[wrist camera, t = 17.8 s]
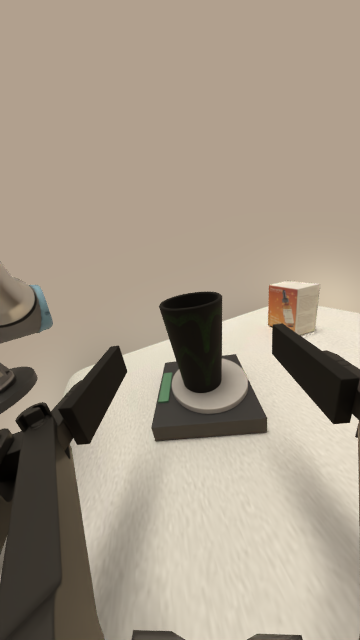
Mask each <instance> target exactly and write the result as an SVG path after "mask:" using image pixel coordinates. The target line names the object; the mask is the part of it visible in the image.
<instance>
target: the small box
mask: <svg viewBox="0 0 360 640" xmlns="http://www.w3.org/2000/svg"><path fill="white" fill-rule="evenodd" d="M319 291H320V284H312V283H302V282H292V281H285V282H280V283H276V284H271V285H269V310H268V325H270V326H272V327H273V324H281V323H283V324H284V325H286V326H287V327H288V328H290V329H291V330H293V331H294V332H296V333H297V334H298V335H302V334H305V333H309V332H312V331H315V325H316V317H317V308H318V299H319Z"/></svg>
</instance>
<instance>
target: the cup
mask: <svg viewBox="0 0 360 640" xmlns="http://www.w3.org/2000/svg"><path fill="white" fill-rule="evenodd" d="M159 308H160V310H161V314H162V317H163V320H164V323H165V326H166V330H167V333H168V336H169V339H170V342H171V345H172V348H173V351H174V355H175V358H176V361H177V364H178V367H179V370H180V373H181V377H182V380H183V383H184V385H185V387H186V388H187V389H188V390H190V391H192V392H195V393H207V392H211V391H213V390H215V389H216V388H218V387H219V385H220V384H221V381H222V296H221V295H220V294H219V293H216V292H195V293H188V294H183V295H179V296H176V297H172V298H169V299H167V300H165V301H163V302H162V303H161V304H160V306H159Z"/></svg>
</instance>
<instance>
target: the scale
mask: <svg viewBox="0 0 360 640" xmlns="http://www.w3.org/2000/svg"><path fill="white" fill-rule="evenodd" d="M152 431H153V434H154V438H155V441H159V440H173V439H186V438H199V437H212V436H225V435H238V434H251V433H264V432H267V417H266V415H265V413H264V411H263V409H262V407H261V405H260V403H259V401H258V399H257V397H256V395H255V393H254V391H253V389H252V386H251V384H250V382H249V380H248V378H247V376H246V374H245V372H244V370H243V368H242V366H241V364H240V362H239V360H238V358H237V356H236V354H234V355H226V356H222V381H221V384H220V385H219V387H218V388H216V389H215V390H213V391H211V392H207V393H195V392H192V391H190V390H188V389H187V388H186V387H185V385H184V383H183V380H182V377H181V373H180V370H179V367H178V364H177V362H169V363H165V366H164V371H163V376H162V381H161V385H160V390H159V395H158V399H157V404H156V409H155V414H154V418H153V423H152Z"/></svg>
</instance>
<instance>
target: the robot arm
mask: <svg viewBox="0 0 360 640" xmlns="http://www.w3.org/2000/svg"><path fill="white" fill-rule="evenodd" d="M52 325H53V322H52V318H51V315H50V312H49V309H48V306H47V303H46V300H45V297H44V295H43V292H42V290H41V288H40V287H39V286H38V285H28V284H26V283H25V282H23V281H21V280H20V279H17V278H14V277H12V276H11V275H10V273H9V272H8V271H7V269H6V268H5V267H4V266H3V264H2V263H1V262H0V343H3V342H7V341H10V340H13V339H17V338H21V337H24V336H27V335H31V334H34V333H40V332H41V331H43V330H46V329H49V328H50V327H51V326H52ZM272 354H273V355H274V356H275V358H276V359H277V360H278V361H279V362H280V363H281V365H282V366H283V367H284V368H285V369H286V370H287V371H288V373H289V374H290V375H291V376H292V377H293V378H294V379H295V381H296V382H297V383H298V384H299V385H300V386H301V387H302V389H303V390H304V391H305V392H306V393H307V394H308V396H309V397H310V398H311V399H312V400H313V401H314V402H315V404H316V405H317V406H318V407H319V408H320V409H321V410H322V412H323V413H324V414H325V415H326V416H327V417H328V418H329V420H330V421H331V422H332V423H333V424H340V423H350V420H351V415H352V414H353V415H354V416H355V417H356V418H357V419H358V420H359V424H358V428H357V432H356V436H355V437H357V438H358V457H359V524H360V369H358V368H357V367H355V366H354V365H352V364H351V363H349V362H348V361H345V359H343V358H342V357H340V356H339V355H337V354H334V353H332V352H329V351H321V350H320V349H318V348H317V347H315V346H314V345H313V344H311V343H310V342H308V341H307V340H306V339H304V338H303V337H301V336H300V335H298V334H297V333H296V332H294V331H293V330H291V329H290V328H288V327H287V326H286V325H284V324H283V323H281V324H273V331H272ZM126 373H127V369H126V366H125V363H124V360H123V357H122V354H121V351H120V348H119V346H113V347H110V348H109V350H108V351H107V352H106V353H105V354H104V355H103V356H102V358H101V359H100V360H99V361H98V362H97V364H96V365H95V366H94V367H93V368H92V369H91V371H90V372H89V373H88V374H87V375H86V376H85V378H84V379H83V380H81V381H79V382H78V383H77V384H75V385H74V386H73V387H72V388H71V389H70V391H69V393H67V394H66V395H65V396H64V398H63V399H62V400H61V401H60V402H59V403H58V404H57V405H56V406H55V408H54V409H53V410H52V411H50V410H49V408H48V406H47V404H46V403H43V402H42V403H38V404H35V405H33V406H31V407H29V408H27V409H26V410H24V411H23V412H22V413H21V414H20V415H19V416H18V417H17V419H16V423H17V424H18V426H19V427H20V429H21V430H22V431H21V432H18V433H15V434H11V432H10V431H9V430H8V429H2V430H0V554H1V551H2V548H3V545H4V543H5V540H6V537H7V542H6V548H5V555H4V561H3V568H2V575H1V581H0V640H105V639H104V636H103V633H102V630H101V627H100V624H99V621H98V617H97V612H96V606H95V599H94V593H93V586H92V580H91V573H90V567H89V560H88V553H87V547H86V540H85V534H84V527H83V521H82V514H81V508H80V501H79V494H78V488H77V481H76V475H75V468H74V462H73V455H72V448H71V447H70V445H69V444H70V442H71V441H72V439H73V438H74V440H75V441H76V443H77V445H80V444H90V442H91V440H92V438H93V436H94V434H95V432H96V431H97V429H98V427H99V425H100V423H101V421H102V419H103V417H104V415H105V413H106V411H107V409H108V407H109V406H110V404H111V402H112V400H113V398H114V396H115V394H116V392H117V390H118V388H119V386H120V384H121V383H122V381H123V379H124V377H125V375H126ZM15 380H16V377H15V375H14V374H13V372H12V371H11V370H10V369H8V368H7V367H5V366H4V365H3V364H1V363H0V395H1V394H2V393H3V392H5V391H6V390H7V389H8V388H9V387H10V386H11V385H12V384H13V383H14V382H15ZM7 534H8V535H7ZM132 640H185V639H183V638H182V637H180V636H178V635H177V634H175V633H173V632H172V631H141V630H133V635H132ZM247 640H303V639H302V636H301V635H277V634H256V635H254V636H253V637H251V638H249V639H247ZM359 640H360V636H359Z"/></svg>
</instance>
